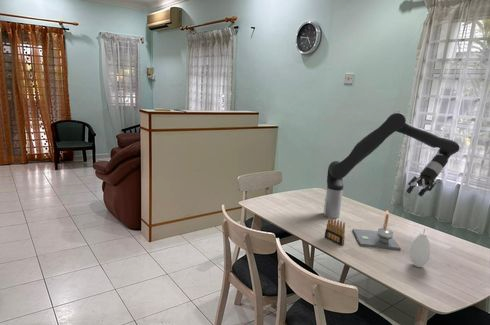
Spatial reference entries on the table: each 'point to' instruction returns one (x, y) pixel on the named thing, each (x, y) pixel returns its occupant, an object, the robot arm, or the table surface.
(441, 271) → the table surface
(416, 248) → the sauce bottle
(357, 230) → the lock base
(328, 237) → the ammunition clip
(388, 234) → the twist collar
